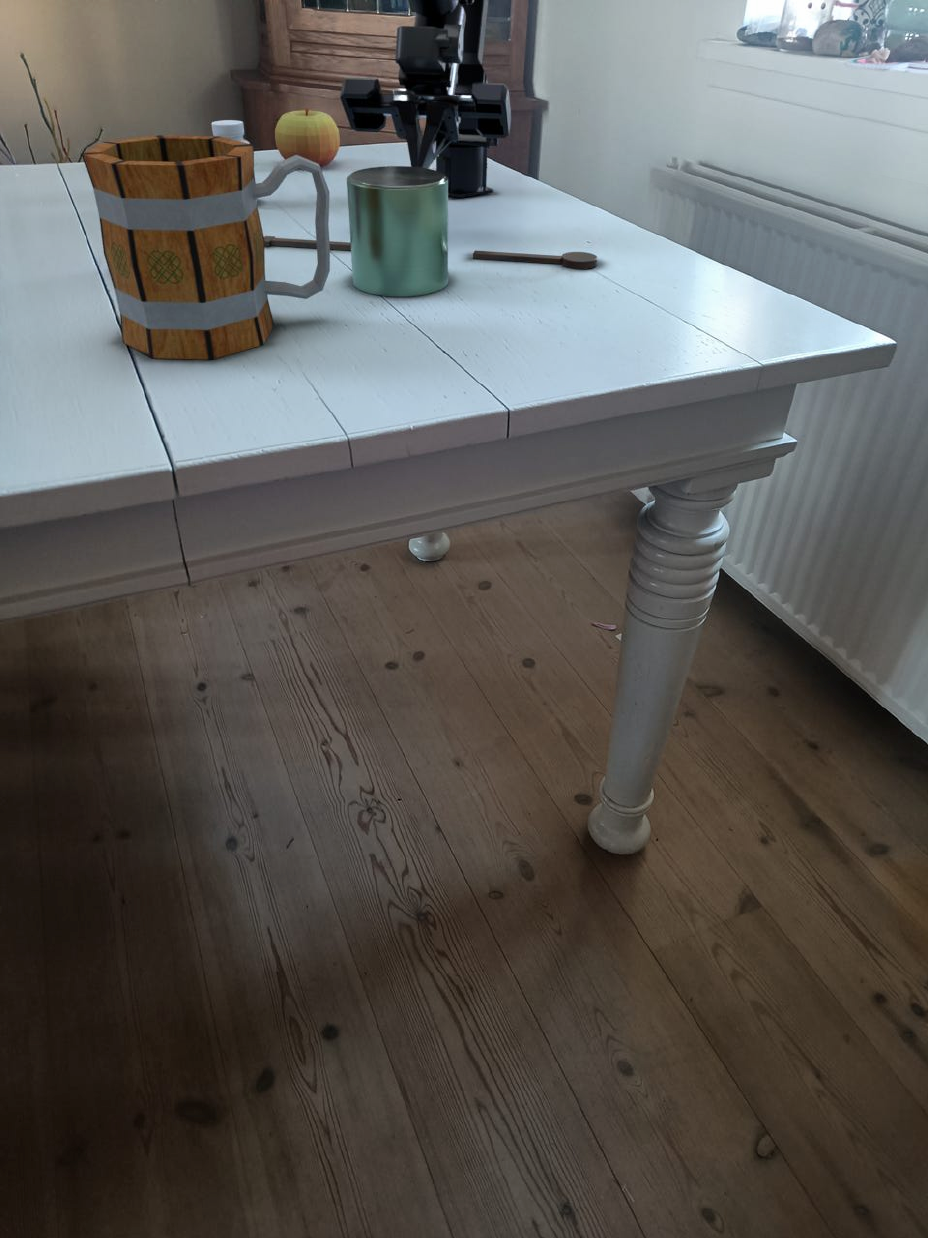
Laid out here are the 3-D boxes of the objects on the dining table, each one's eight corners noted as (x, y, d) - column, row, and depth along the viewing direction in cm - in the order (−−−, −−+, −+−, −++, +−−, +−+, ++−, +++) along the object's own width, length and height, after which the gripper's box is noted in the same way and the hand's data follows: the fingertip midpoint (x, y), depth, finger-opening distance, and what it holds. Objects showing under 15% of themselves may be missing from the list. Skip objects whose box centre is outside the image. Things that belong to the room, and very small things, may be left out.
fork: (357, 246, 105) (357, 241, 104) (351, 252, 103) (351, 246, 102) (237, 238, 107) (236, 233, 106) (229, 244, 105) (228, 238, 104)
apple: (312, 174, 136) (307, 114, 131) (265, 166, 140) (258, 108, 135) (353, 164, 143) (350, 106, 138) (306, 156, 147) (302, 100, 142)
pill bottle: (263, 199, 122) (253, 119, 116) (251, 209, 118) (241, 126, 112) (224, 198, 123) (213, 118, 117) (211, 207, 118) (199, 124, 113)
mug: (129, 369, 74) (86, 170, 65) (116, 317, 84) (76, 138, 75) (357, 341, 80) (347, 155, 71) (320, 296, 90) (306, 128, 81)
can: (399, 262, 100) (396, 161, 94) (467, 281, 95) (468, 175, 88) (333, 281, 94) (325, 175, 88) (401, 303, 89) (398, 191, 82)
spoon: (470, 261, 100) (470, 254, 100) (476, 252, 103) (476, 244, 103) (595, 270, 98) (596, 262, 98) (597, 259, 102) (598, 252, 101)
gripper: (338, -11, 95) (316, 123, 93) (512, -7, 93) (492, 132, 91) (362, 67, 106) (342, 188, 104) (518, 72, 104) (501, 197, 102)
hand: (416, 176), depth 100 cm, fingers closed
